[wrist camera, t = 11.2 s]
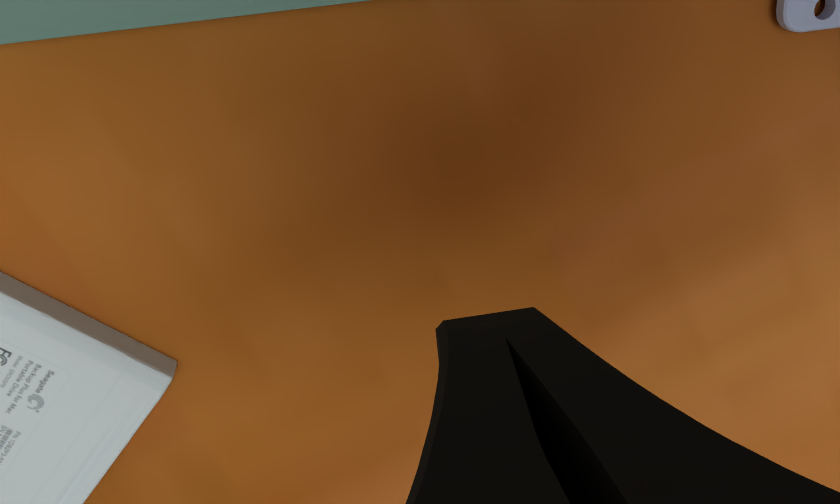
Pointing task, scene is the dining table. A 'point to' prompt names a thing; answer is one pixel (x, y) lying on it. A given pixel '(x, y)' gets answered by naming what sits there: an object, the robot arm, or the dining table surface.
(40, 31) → the board
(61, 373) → the external hard drive
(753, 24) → the dining table surface
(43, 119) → the dining table surface
